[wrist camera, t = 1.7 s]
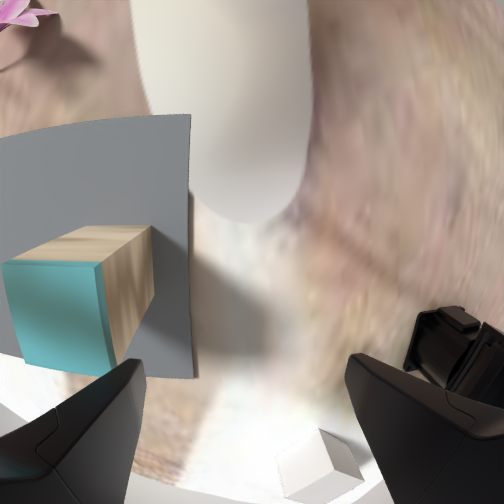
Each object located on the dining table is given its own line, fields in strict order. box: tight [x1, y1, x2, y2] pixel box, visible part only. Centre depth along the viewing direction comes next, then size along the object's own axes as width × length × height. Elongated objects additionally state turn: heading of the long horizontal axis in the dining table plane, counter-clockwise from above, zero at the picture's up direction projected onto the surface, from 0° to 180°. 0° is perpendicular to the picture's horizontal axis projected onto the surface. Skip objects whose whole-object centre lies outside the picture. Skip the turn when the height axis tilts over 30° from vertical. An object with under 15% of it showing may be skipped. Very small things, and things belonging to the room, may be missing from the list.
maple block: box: [1, 225, 155, 377], centre depth 15 cm, size 5×5×10 cm
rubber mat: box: [0, 114, 194, 379], centre depth 19 cm, size 20×22×1 cm
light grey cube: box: [275, 428, 364, 504], centre depth 25 cm, size 6×6×6 cm
